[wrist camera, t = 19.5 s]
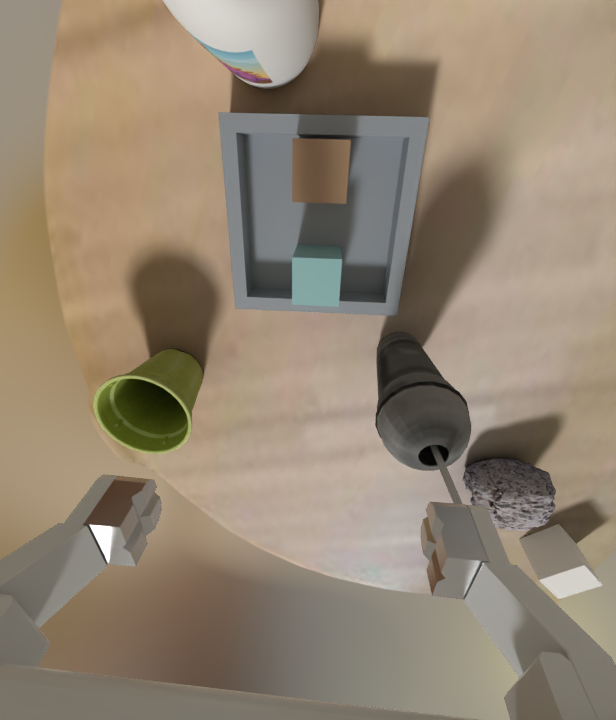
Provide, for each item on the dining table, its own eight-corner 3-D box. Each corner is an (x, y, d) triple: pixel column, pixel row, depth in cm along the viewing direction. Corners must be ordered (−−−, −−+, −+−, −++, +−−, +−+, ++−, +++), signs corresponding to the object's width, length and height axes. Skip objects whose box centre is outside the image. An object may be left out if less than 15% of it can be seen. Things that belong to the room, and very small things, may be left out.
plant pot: (120, 354, 40) (71, 399, 33) (184, 321, 37) (147, 361, 30) (171, 412, 44) (138, 464, 36) (232, 386, 41) (210, 436, 34)
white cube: (558, 522, 50) (584, 564, 45) (575, 542, 52) (603, 585, 47) (518, 538, 52) (539, 580, 47) (536, 557, 54) (558, 599, 49)
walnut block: (348, 143, 28) (350, 139, 24) (344, 197, 30) (346, 203, 26) (298, 141, 28) (292, 138, 24) (297, 195, 30) (292, 202, 26)
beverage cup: (400, 306, 35) (467, 448, 18) (446, 349, 37) (545, 513, 20) (349, 352, 38) (364, 512, 21) (395, 390, 40) (442, 563, 23)
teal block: (340, 245, 32) (342, 259, 28) (337, 288, 34) (338, 306, 30) (297, 244, 32) (292, 257, 28) (297, 286, 34) (292, 304, 30)
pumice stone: (442, 471, 49) (505, 510, 49) (443, 512, 43) (515, 559, 42) (491, 422, 44) (563, 465, 44) (501, 461, 38) (585, 512, 37)
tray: (419, 121, 27) (429, 117, 25) (391, 303, 35) (397, 315, 32) (229, 117, 28) (218, 112, 25) (242, 297, 36) (235, 308, 33)
